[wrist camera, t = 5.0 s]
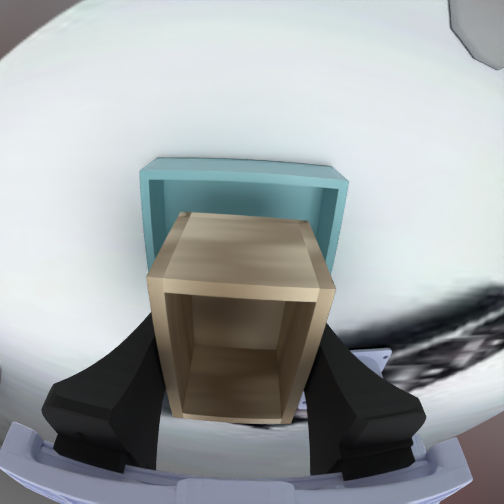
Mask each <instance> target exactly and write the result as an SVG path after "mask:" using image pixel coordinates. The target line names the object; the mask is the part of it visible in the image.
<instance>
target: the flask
mask: <svg viewBox="0 0 504 504" xmlns="http://www.w3.org/2000/svg"><path fill="white" fill-rule="evenodd" d="M450 10H451V24H452V29H453V30H454V32H455V33H456V34H457V35H458V37H459V38H460V39H461V40H462V42H463V43H464V44H465V46H466V47H467V49H468V50H469V51H470V53H471V54H472V55H473V57H474V58H475V59H477V60H479V61H481V62H483V63H485V64H487V65H489V66H491V67H493V68H494V69H496V70H500V69H502V68H504V0H450Z"/></svg>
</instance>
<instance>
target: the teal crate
mask: <svg viewBox="0 0 504 504" xmlns="http://www.w3.org/2000/svg"><path fill="white" fill-rule="evenodd" d="M348 184H349V181H348V180H347V179H346V178H345V177H344V176H342V175H341V174H340V173H339V172H338V171H337V170H335V169H334V168H333V167H331V166H322V165H313V164H302V163H291V162H279V161H264V160H248V159H225V158H156V159H155V160H154V161H152V162H151V163H149V164H148V165H147V166H145V167H144V168H142V169H141V170H140V189H141V204H142V216H143V228H144V238H145V247H146V256H147V264H148V272H149V270H150V269H151V267H152V265H153V263H154V261H155V259H156V257H157V255H158V253H159V251H160V249H161V247H162V245H163V243H164V241H165V240H166V238H167V236H168V234H169V232H170V230H171V228H172V226H173V225H174V223H175V221H176V219H177V217H178V216H179V214H180V212H195V213H212V214H228V215H243V216H257V217H270V218H283V219H295V220H307V221H309V224H310V226H311V228H312V231H313V233H314V235H315V238H316V240H317V243H318V245H319V247H320V250H321V252H322V255H323V257H324V260H325V262H326V265H327V267H328V270H329V272H330V275H331V272H332V267H333V263H334V258H335V253H336V249H337V244H338V239H339V234H340V229H341V223H342V218H343V213H344V207H345V201H346V196H347V190H348Z"/></svg>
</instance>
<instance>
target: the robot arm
mask: <svg viewBox="0 0 504 504" xmlns="http://www.w3.org/2000/svg"><path fill="white" fill-rule="evenodd" d="M391 353H392V351H391V349H390V348H378V349H363V350H349V349H348V348H347V347H346V346H345V345H344V343H343V342H342V341H341V340H340V339H339V338H338V336H337V335H336V334H335V333H334V332H333V330H332V329H331V328H330V327H329V325H328V324H327V323H326V325H325V328H324V331H323V335H322V338H321V341H320V344H319V347H318V350H317V353H316V356H315V359H314V362H313V365H312V368H311V371H310V374H309V376H308V379H307V382H306V385H305V387H304V390H303V393H302V396H301V398H300V401H299V404H298V409H307V415H308V427H309V443H310V474H309V476H303V477H289V478H261V479H246V478H218V477H204V476H193V475H184V474H176V473H169V472H162V471H156V457H157V443H158V432H159V423H160V415H161V408H162V401H163V397H164V392H165V389H166V386H165V381H164V377H163V372H162V367H161V362H160V357H159V352H158V347H157V342H156V336H155V331H154V325H153V319H152V313H150V314H149V315H148V316H147V317H146V318H145V320H144V321H143V322H142V323H141V324H140V325H139V326H138V327H137V328H136V329H135V330H134V331H133V332H132V333H131V334H130V335H129V336H128V337H127V338H126V339H125V340H124V341H123V342H122V343H121V344H120V345H119V346H118V347H116V348H115V349H114V350H113V351H111V352H110V353H109V354H108V355H106V356H105V357H104V358H102V359H101V360H99V361H98V362H96V363H95V364H93V365H92V366H90V367H88V368H87V369H85V370H83V371H81V372H79V373H77V374H76V375H73V376H71V377H69V378H67V379H65V380H62V381H60V382H58V383H55V384H53V386H52V388H51V389H50V391H49V393H48V396H47V398H46V400H45V402H44V405H43V407H42V409H41V410H42V414H43V416H44V417H45V419H46V420H47V422H48V423H49V424H50V425H51V426H52V428H53V429H54V430H55V431H56V432H57V433H58V435H57V438H56V440H55V443H54V444H53V443H50V442H48V441H45V440H43V439H42V437H41V436H40V435H39V434H38V433H37V432H36V431H34V430H33V429H31V428H28V427H26V426H24V425H21V424H19V423H17V422H12V424H11V427H10V429H9V431H8V433H7V436H6V438H5V441H4V443H3V445H2V448H1V450H0V469H2V470H3V471H4V472H5V473H7V474H8V475H9V476H11V477H12V478H14V479H15V480H16V481H18V482H19V483H21V484H22V485H23V486H25V487H27V488H29V489H31V490H33V491H35V492H37V493H39V494H41V495H43V496H45V497H48V498H50V499H52V500H54V501H57V502H59V503H61V504H439V502H440V501H441V500H443V499H445V498H446V497H448V496H449V495H451V494H453V493H455V492H456V491H458V490H459V489H461V488H462V487H464V486H465V485H467V484H468V483H469V482H471V481H472V480H473V478H472V476H471V473H470V470H469V467H468V465H467V462H466V459H465V457H464V454H463V452H462V449H461V447H460V444H459V442H458V439H457V438H456V437H455V438H452V439H449V440H446V441H443V442H440V443H438V444H436V445H434V446H432V447H431V448H430V449H429V450H428V451H427V452H426V449H425V447H424V444H423V442H422V439H421V437H420V435H419V434H416V432H417V431H418V430H419V429H420V428H421V426H422V425H423V424H424V422H425V420H426V415H425V412H424V410H423V407H422V405H421V403H420V401H419V399H418V398H417V397H415V396H413V395H411V394H409V393H407V392H405V391H403V390H401V389H399V388H398V387H396V386H394V385H393V384H391V383H389V382H388V381H386V380H385V379H383V376H382V374H381V372H382V371H383V369H384V367H385V365H386V363H387V361H388V359H389V357H390V355H391Z"/></svg>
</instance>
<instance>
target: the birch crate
mask: <svg viewBox="0 0 504 504" xmlns="http://www.w3.org/2000/svg"><path fill="white" fill-rule="evenodd" d="M146 278H147V285H148V293H149V300H150V306H151V313H152V319H153V325H154V331H155V336H156V342H157V347H158V352H159V357H160V362H161V367H162V372H163V377H164V381H165V386H166V390H167V394H168V398H169V403H170V407H171V411H172V415H173V417H177V418H185V419H194V420H204V421H216V422H230V423H252V424H291V422H292V419H293V417H294V414H295V411H296V409H297V406H298V404H299V401H300V398H301V396H302V393H303V390H304V387H305V385H306V382H307V379H308V376H309V374H310V371H311V368H312V365H313V362H314V359H315V356H316V353H317V350H318V347H319V344H320V341H321V338H322V335H323V331H324V328H325V325H326V322H327V319H328V315H329V312H330V309H331V305H332V302H333V298H334V295H335V291H336V288H335V285H334V283H333V280H332V277H331V275H330V272H329V270H328V267H327V265H326V262H325V260H324V257H323V255H322V252H321V250H320V247H319V245H318V243H317V240H316V238H315V235H314V233H313V231H312V228H311V226H310V224H309V221H307V220H295V219H283V218H270V217H257V216H243V215H228V214H212V213H195V212H180V214H179V216H178V217H177V219H176V221H175V223H174V225H173V226H172V228H171V230H170V232H169V234H168V236H167V238H166V240H165V241H164V243H163V245H162V247H161V249H160V251H159V253H158V255H157V257H156V259H155V261H154V263H153V265H152V267H151V269H150V270H149V272H148V274H147V277H146Z"/></svg>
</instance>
